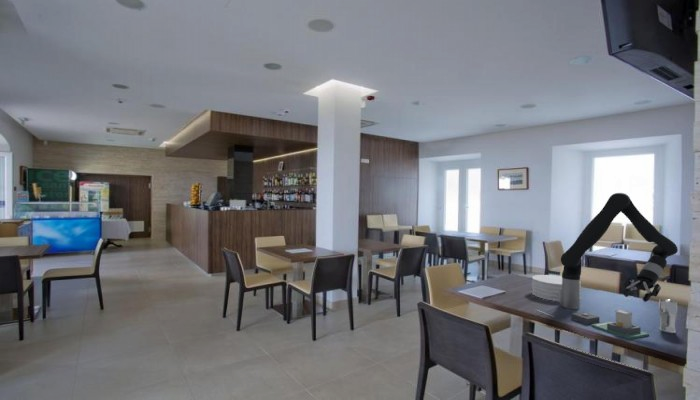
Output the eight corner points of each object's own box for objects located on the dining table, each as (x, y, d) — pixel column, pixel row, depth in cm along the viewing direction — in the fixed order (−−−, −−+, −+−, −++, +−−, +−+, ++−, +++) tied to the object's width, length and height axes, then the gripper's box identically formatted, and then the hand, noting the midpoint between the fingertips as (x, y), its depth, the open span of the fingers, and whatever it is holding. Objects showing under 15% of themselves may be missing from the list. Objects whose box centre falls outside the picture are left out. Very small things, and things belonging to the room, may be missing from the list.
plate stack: (590, 303, 224) (590, 284, 224) (545, 302, 225) (545, 284, 225) (564, 291, 252) (564, 275, 252) (524, 290, 253) (524, 274, 253)
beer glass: (667, 328, 181) (668, 298, 181) (680, 333, 174) (681, 302, 174) (654, 328, 181) (654, 298, 181) (667, 333, 174) (667, 302, 174)
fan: (571, 319, 194) (571, 312, 194) (582, 317, 197) (583, 310, 197) (587, 324, 186) (587, 317, 186) (599, 322, 189) (599, 315, 189)
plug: (614, 329, 177) (615, 311, 176) (621, 328, 178) (622, 310, 178) (624, 332, 172) (624, 313, 172) (631, 331, 174) (631, 312, 174)
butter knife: (537, 308, 211) (533, 309, 210) (580, 325, 185) (576, 325, 184) (537, 310, 211) (533, 310, 210) (580, 326, 185) (576, 326, 184)
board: (591, 326, 183) (591, 319, 183) (610, 323, 188) (610, 316, 188) (629, 339, 166) (629, 332, 166) (649, 335, 171) (649, 328, 171)
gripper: (631, 266, 188) (616, 289, 184) (663, 271, 174) (647, 297, 170) (637, 275, 189) (622, 299, 186) (669, 281, 176) (654, 307, 172)
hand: (634, 298), depth 178 cm, fingers open, 8 cm apart
